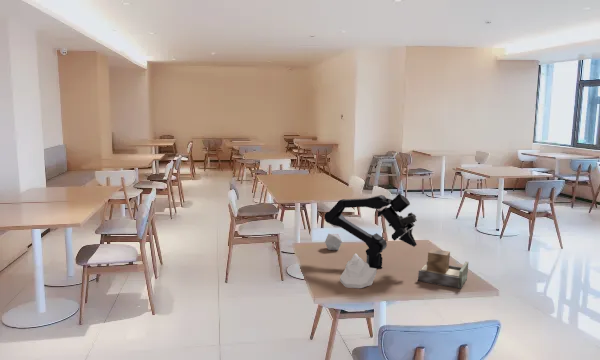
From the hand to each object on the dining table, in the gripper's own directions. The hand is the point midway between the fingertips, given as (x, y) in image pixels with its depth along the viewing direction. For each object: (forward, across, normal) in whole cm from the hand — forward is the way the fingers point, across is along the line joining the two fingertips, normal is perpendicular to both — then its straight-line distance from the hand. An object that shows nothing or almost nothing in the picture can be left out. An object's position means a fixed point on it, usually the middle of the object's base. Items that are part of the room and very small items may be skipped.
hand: (415, 245), depth 218 cm
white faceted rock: (-3, -27, +22) cm, 34 cm away
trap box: (+18, 0, 0) cm, 18 cm away
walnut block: (+14, 0, -1) cm, 14 cm away
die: (-24, +16, +42) cm, 51 cm away
